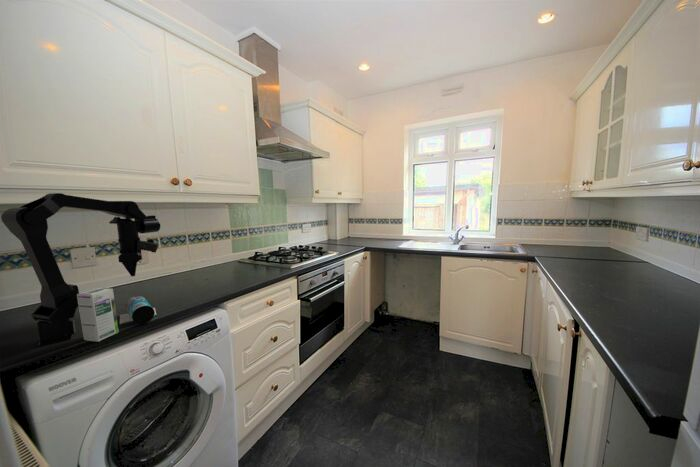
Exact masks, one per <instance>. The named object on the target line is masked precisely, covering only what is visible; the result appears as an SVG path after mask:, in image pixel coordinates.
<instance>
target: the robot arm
mask: <svg viewBox="0 0 700 467" xmlns="http://www.w3.org/2000/svg"><path fill="white" fill-rule="evenodd" d="M62 208H65V209H66V208H67V209H77V210H85V211H95V212H102V213H105V214H107V215H111V216H114V217H113V218H112V219H111V220H109V222H108V223H109V224H111V225H116V227H117V235H118V239H117V241H118V245H119V255H118V257H117V258H118V262H119V263H120V264H122V266H123V267H124V269H126V271H127V272H128V273H129V275H130V276H131V277H135V276H136V273H137V272H136V271H137V264H138V262H139V261H142V260H143V256H142V255H143V254H142V251H147V252H151V253H157V250H158V249H159V248H158V247H159V243H157V242H155V240H154V239H149V238H148V239H147V240H142V239H141V238H140V236H139V234H149V233H150V234H151V233H157V232H159V231H160V229H161V223H160V221H159V220H158V219H157V218H156V215H155V214H154V215H146V214H145V213H144V212H143V210H141V208H140V207H139V205H138V204H137V202H135V201H134V200H133V201H132V200H104V199H96V198H90V197H84V196H83V197H82V196H75V195H69V194H65V193H61V192H57V193H56V192H52V193H51V192H50V193H46V194H45V195H44V196H42V197H40V198H37V199H36V200H33V201H30V202H27V203H26V204H23V205H21V206H19V207H11V208H8V209H7V210H5V211H4V212H3V213H1V215H0V219H1V222H2V223H3V224H4V226H6V228H7V230H8V231H9V232H10V233H11V234H12V235H13V236H15V237H16V238H17V239H18V240H19V241H20V242H21V244H22V246H23V249H24V251H25V253H26V255H27V258H28V259H29V261H30V263H31V267H32V268H33V270H34V273H35V275H36V277H37V279H38V281H39V284H40V286H41V289H40V293H39V298H40V305H39V306H37V308H36V309H35V310H34V311H33V313H31V314H30V317H31V318H32V319H33V321H37V323H36V324H37V331H38V339H39V342H38V344H37V345H38V346H37V347H41V346H42V347H43V346H46V345H51V344H54V343H58V342H62V341H66V340H70V339H72V338H73V336H74V335H75V333H76V332H77V330H76V322H75V319H74V317H75V313H76V311H77V309H78V308H79V306H78V300H77V294H79V293H80V291H79V286H78V285H76V284H69V283H67V282H66V281H65V279H64V276H63V274H62V271H61V269H60V266H59V264H58V262H57V260H56V258H55V255H54V253H53V250H52V248H51V246H50V243H49V242H48V239H47V235H48V230H49V225H48V219H50V218H51V217H52V216H54V215H56V214H57V212H59V211H60V210H61V209H62Z"/></svg>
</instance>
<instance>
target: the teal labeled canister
mask: <svg viewBox="0 0 700 467" xmlns="http://www.w3.org/2000/svg"><path fill="white" fill-rule="evenodd" d="M153 308H154V307H152V306H151V304H150V303H149V302H148V300H147V299H146V298H145V297H144V296H140V295H137V296H136V295H135V296H132V297H131V298H129V299H128V300H127V301H126V303H125V309H126V310H127V312H128V313H129V314H130V316H131V317H132V319H133V321H132V322H133V323H135V324H139V325H142V324H147V323H148V322H150V321H152V320H153V318H154V317H155V316H154V314H155V312H154V309H153Z"/></svg>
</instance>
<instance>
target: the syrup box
mask: <svg viewBox="0 0 700 467" xmlns="http://www.w3.org/2000/svg"><path fill="white" fill-rule="evenodd" d="M77 300H78V310H79V311H78V312H79V316H80V323H81V330H82V337H83V340H84V341H89V342H96V343H97V342H98V343H99V342H101V341H102V340H105V339H107V338H110V337H112V336H114V335H116V334H118V333H119V331H120V329H119V325H118V323H119V322H118V318H117V317H118V316H117V309H116V308H117V307H116V303H115V302H116V301H115V295H114V289H113V288H111V287H98V288H94V289H90V290H87V291H83V292H79V294H77Z"/></svg>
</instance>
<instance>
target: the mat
mask: <svg viewBox="0 0 700 467" xmlns="http://www.w3.org/2000/svg"><path fill="white" fill-rule="evenodd" d="M152 308H153V309H154V312H155V314H154V317H156V316H158V315H157V312H156V311H157V310H156V308H155V307H152ZM155 315H156V316H155ZM131 322H134V321H133V319H132V317H131V316H130V314H129V312H128V313H124V314H123V313H122V314H119V325H121V324H126V323H131Z"/></svg>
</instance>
